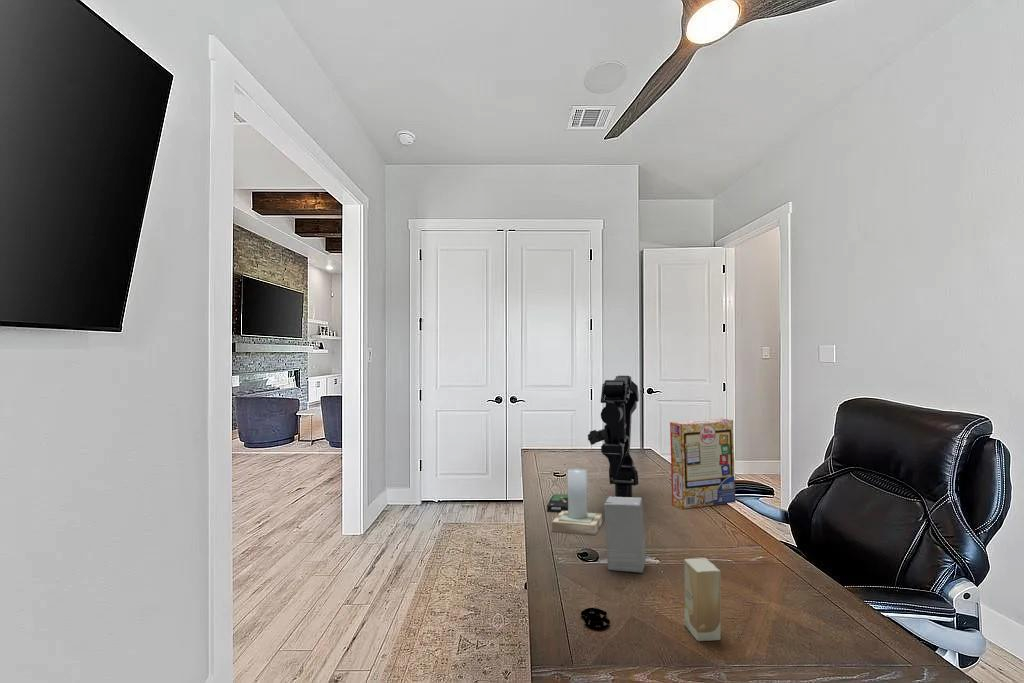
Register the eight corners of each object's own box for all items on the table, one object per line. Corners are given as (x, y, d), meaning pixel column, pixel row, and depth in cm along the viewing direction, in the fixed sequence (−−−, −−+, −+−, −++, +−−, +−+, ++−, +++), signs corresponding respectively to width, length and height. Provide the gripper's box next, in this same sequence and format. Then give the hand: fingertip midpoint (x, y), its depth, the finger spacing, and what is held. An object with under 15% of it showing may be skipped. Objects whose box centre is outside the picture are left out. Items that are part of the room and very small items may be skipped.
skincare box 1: (646, 564, 136) (644, 496, 136) (642, 575, 129) (641, 504, 129) (610, 560, 138) (609, 494, 139) (604, 571, 132) (603, 501, 132)
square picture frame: (562, 519, 172) (562, 509, 172) (602, 522, 168) (602, 512, 168) (552, 531, 161) (552, 520, 161) (594, 535, 157) (594, 524, 157)
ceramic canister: (581, 512, 168) (581, 467, 169) (591, 517, 163) (590, 471, 164) (564, 514, 166) (564, 469, 167) (573, 519, 161) (573, 472, 162)
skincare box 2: (683, 625, 106) (682, 557, 106) (706, 623, 106) (705, 556, 106) (697, 642, 99) (696, 571, 99) (722, 641, 100) (721, 570, 100)
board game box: (723, 498, 193) (722, 418, 194) (736, 503, 187) (734, 420, 188) (670, 504, 187) (669, 421, 187) (682, 509, 181) (680, 423, 181)
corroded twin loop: (586, 633, 103) (586, 627, 104) (578, 613, 111) (578, 607, 111) (613, 632, 104) (613, 626, 104) (604, 611, 112) (603, 606, 112)
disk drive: (580, 515, 178) (583, 502, 193) (580, 506, 178) (583, 494, 193) (546, 514, 180) (553, 501, 195) (546, 505, 180) (552, 492, 195)
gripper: (595, 416, 188) (595, 464, 187) (583, 424, 170) (584, 477, 170) (629, 417, 184) (630, 466, 184) (621, 425, 166) (622, 479, 166)
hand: (616, 472), depth 176 cm, fingers open, 9 cm apart
